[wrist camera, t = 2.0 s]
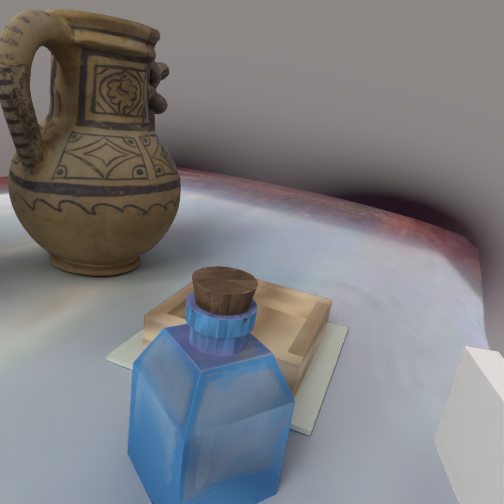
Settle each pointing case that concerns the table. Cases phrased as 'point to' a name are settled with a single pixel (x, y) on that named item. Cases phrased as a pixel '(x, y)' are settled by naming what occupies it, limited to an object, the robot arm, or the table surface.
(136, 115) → the decorative pitcher
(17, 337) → the table surface
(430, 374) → the table surface
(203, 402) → the perfume bottle
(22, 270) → the table surface
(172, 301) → the oak box
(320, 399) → the felt mat
